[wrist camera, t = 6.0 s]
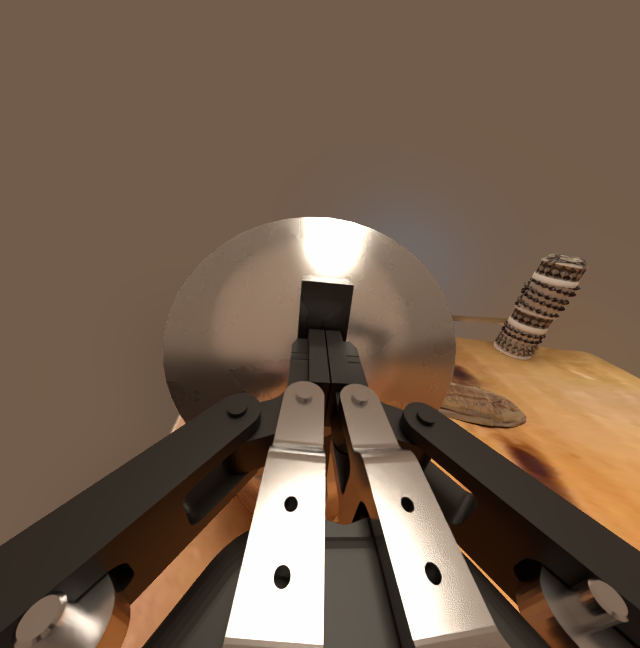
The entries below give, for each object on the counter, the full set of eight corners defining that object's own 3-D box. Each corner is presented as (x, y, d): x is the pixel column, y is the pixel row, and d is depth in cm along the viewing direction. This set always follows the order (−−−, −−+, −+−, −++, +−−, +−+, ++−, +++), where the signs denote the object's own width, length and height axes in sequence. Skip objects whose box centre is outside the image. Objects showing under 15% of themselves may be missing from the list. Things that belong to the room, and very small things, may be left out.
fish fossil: (383, 410, 41) (384, 405, 40) (375, 375, 50) (376, 370, 50) (536, 430, 40) (539, 425, 39) (499, 390, 49) (501, 386, 49)
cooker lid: (413, 471, 19) (450, 548, 14) (183, 465, 18) (136, 547, 13) (478, 238, 14) (572, 231, 9) (160, 201, 13) (65, 169, 8)
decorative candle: (537, 365, 58) (607, 264, 46) (494, 352, 61) (549, 255, 49) (527, 348, 65) (586, 257, 53) (489, 337, 69) (536, 249, 57)
